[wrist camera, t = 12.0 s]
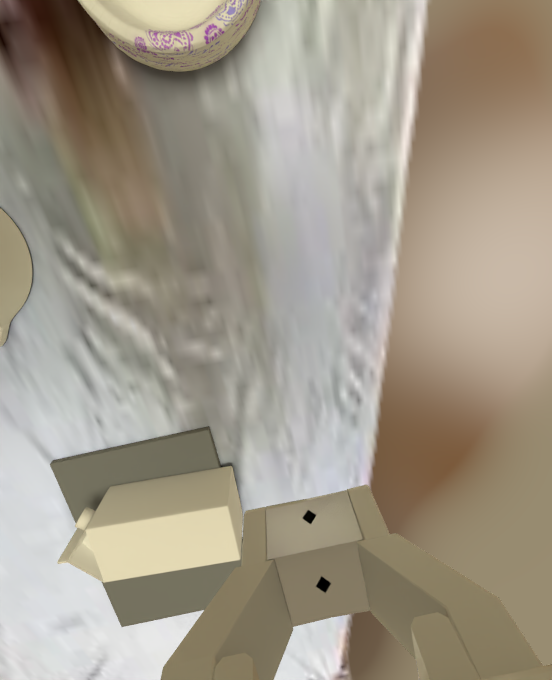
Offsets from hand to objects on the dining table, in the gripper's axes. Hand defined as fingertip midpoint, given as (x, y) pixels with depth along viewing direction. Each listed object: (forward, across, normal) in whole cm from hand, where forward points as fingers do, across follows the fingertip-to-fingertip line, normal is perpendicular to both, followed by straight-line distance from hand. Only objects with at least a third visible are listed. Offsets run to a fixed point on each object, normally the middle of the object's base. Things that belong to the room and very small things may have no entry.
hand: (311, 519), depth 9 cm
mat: (+34, +20, +27) cm, 48 cm away
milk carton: (+30, +9, +23) cm, 38 cm away
